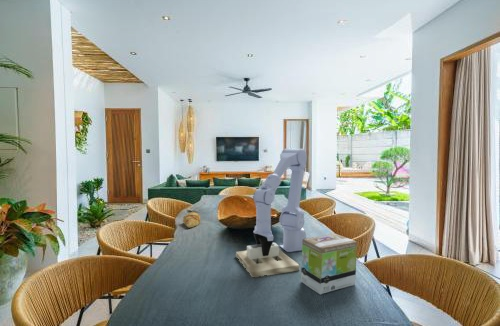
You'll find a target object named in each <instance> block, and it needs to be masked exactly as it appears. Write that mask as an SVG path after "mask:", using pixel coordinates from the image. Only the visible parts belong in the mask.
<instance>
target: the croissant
mask: <svg viewBox="0 0 500 326" xmlns="http://www.w3.org/2000/svg"><path fill="white" fill-rule="evenodd" d="M182 222H183V224H184V226H186V228H194V227H196V226H198V225H200V224H201V216H200V214H198V212H194V211H192V212H189V213H187V214H184V216H183V218H182Z"/></svg>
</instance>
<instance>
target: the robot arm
mask: <svg viewBox="0 0 500 326" xmlns="http://www.w3.org/2000/svg"><path fill="white" fill-rule="evenodd" d="M279 155H280V157H279V159H280V160H279V162H278V164H277V165H276V168H275V169H274V172H273V173H270V174H268V175H267V177H266V179H265V180H264V181H263V183H262V185H261V186H260V188H257V189H256V190H255V191H254V193H253V195H252V199H253V202H254V206H255V212H256V213H255V215H256V216H255V219H256V221H255V224H256V225H254V230H253V232H252V233H253V237H254V239H255V242H256V245H259V244H261V247H262V254H263V256H268V255H269V251H270V247H271V245H272V243H274V241H275V238H274V235H273V233H272V228H271V227H272V226H271V225H272V219H271V218H272V203H273V202H274V200H275V195H276V191H277V189H278V188H279V186H280V185H281V182H282V180H281V178H282V177H283V175H284V174H285V172H286V170H288V168H289V169H290V170H291V177H290V183H289V190H288V196H287V197H288V198H287V205H286V206H285V207H283V208H282V209H281V214H280V216H279V224H280V225H281V228H282V231H283V244H280V245H279V248H281V249H282V250H284V251H286V252H287V253H292V252H298V251H302V241H303V239H306V238H307V234H306V231H305V229H304V228H303V227H304V225H305V212H304V211H303V210H302V209H301V207H300V202H301V194H302V188H303V181H304V174H305V172H304V171H305V169H306V166H307V161H308V160H307V158H308V154H307V153H306V150H305V149H304V148H283V149H282V151H281V153H280V154H279Z"/></svg>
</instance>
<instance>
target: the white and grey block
mask: <svg viewBox="0 0 500 326" xmlns="http://www.w3.org/2000/svg"><path fill="white" fill-rule="evenodd" d="M279 250H280V245H278V243H276V242H273V243H272V245H271V247H270V251H269V255H268V256H263V254H262V247H261V244H259V245H257V244H251V245H246V251H247V257H248V258H249V259H250V260H251V259H253V261H254V262H255V263H256V264H258V262H257V259H259V258H266V257H273V258H274V259H275V260H276V256H279ZM276 261H277V260H276Z"/></svg>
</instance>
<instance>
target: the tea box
mask: <svg viewBox="0 0 500 326" xmlns="http://www.w3.org/2000/svg"><path fill="white" fill-rule="evenodd" d="M357 251H358V242H357V241H356V240H354V239H351V238H348V237H346V236H343V235H340V234H338V233H333V234H331V233H330V234H327V235H326V234H325V235H320V236H314V237H312V236H311V237H308V238H307V237H306V239H303V241H302V250H301V268H300V269H301V273H300V282H301V283H303V284H304V285H305V286H306V287H308V288H310V289H311V290H313V291H314V292H316V293H317V294H318V295H320V296H321V295H324V294H326V293H330V292H334V291H336V290H340V289H344V288H348V287H352V286H355V285H356V279H357V277H356V276H357V253H358V252H357Z"/></svg>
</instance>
